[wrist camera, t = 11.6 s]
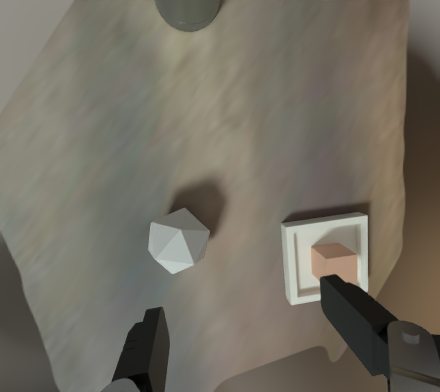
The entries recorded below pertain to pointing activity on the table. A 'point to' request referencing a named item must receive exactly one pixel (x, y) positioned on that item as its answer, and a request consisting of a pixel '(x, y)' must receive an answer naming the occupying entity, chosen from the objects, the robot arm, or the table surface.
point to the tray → (313, 236)
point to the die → (178, 240)
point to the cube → (334, 262)
